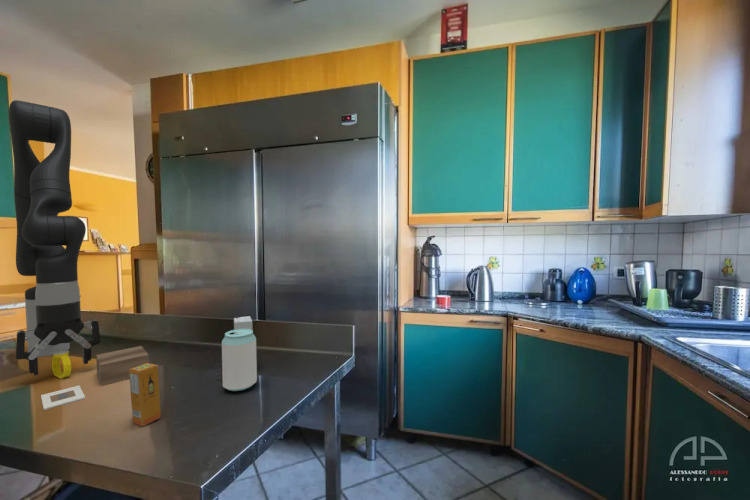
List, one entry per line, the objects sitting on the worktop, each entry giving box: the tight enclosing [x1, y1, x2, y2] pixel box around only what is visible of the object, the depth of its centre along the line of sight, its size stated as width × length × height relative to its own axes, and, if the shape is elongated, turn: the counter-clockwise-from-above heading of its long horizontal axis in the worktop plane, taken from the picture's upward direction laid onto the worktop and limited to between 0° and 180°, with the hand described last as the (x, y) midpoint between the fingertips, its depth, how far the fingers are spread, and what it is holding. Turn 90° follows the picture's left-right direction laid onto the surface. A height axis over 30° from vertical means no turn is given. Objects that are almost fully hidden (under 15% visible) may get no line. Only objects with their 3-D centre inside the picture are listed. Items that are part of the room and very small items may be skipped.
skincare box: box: [233, 315, 254, 332], centre depth 84 cm, size 6×4×12 cm
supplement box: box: [129, 362, 162, 427], centre depth 59 cm, size 3×3×10 cm
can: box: [221, 329, 258, 392], centre depth 73 cm, size 7×7×12 cm
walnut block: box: [95, 345, 150, 387], centre depth 79 cm, size 9×9×5 cm
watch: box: [51, 349, 72, 380], centre depth 78 cm, size 6×3×6 cm, turn 65°
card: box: [40, 384, 86, 411], centre depth 68 cm, size 8×6×1 cm
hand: (61, 368), depth 78 cm, fingers open, 8 cm apart
